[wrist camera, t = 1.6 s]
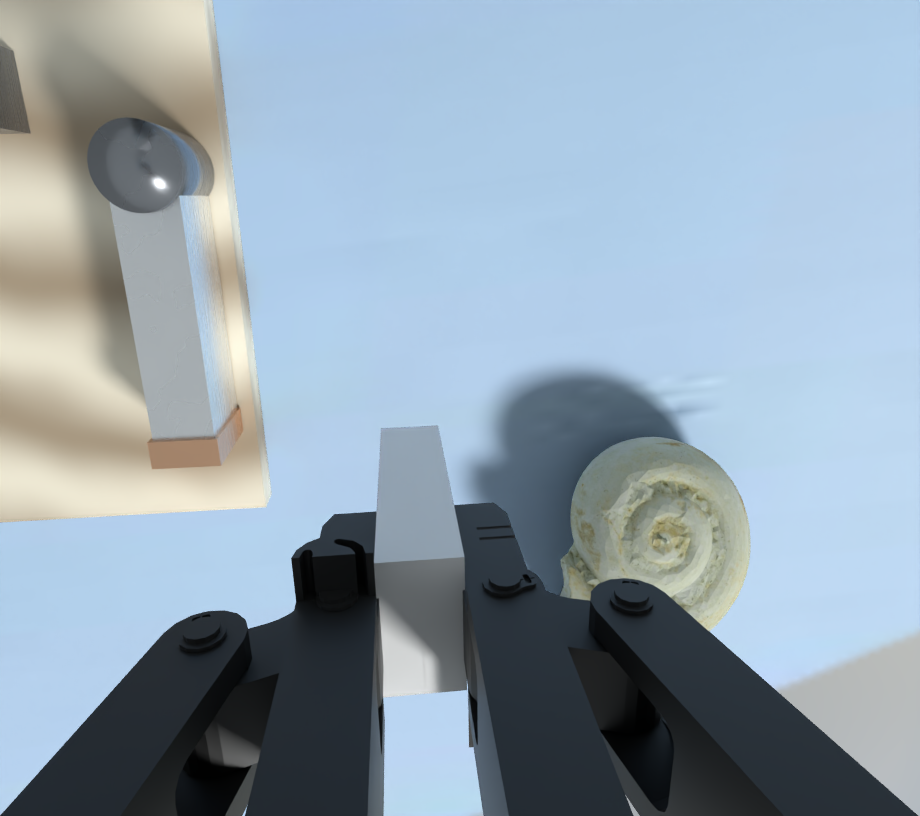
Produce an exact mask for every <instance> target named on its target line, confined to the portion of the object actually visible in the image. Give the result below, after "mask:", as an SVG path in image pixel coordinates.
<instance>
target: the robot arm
mask: <svg viewBox="0 0 920 816" xmlns="http://www.w3.org/2000/svg"><path fill="white" fill-rule="evenodd" d="M291 560H292V568H293V577H294V586H295V594H296V605H295V609H294V611H293V612H292V613H290V614H289V615H287V616H285V617H283V618H281V619H279V620H276V621H273V622H270V623H268V624H264V625H261V626H257V627H253V628H250V629H248V627H247V623H246V620H245V619H244V618H242V617H241V616H240V615H239V614H237V613H233V612H228V611H208V612H203V613H199V614H196V615H193V616H190V617H188V618H186V619H184V620H182V621H180V622H178V623H176V624H175V625H173V626H172V627H171V628H170V629H168V630H167V631H166V632H165V633H164V634H163V635H162V636H161V637H160V638H159V639H158V640H157V641H156V643H155V644H154V645H153V646H152V647H151V648H150V649H149V650H148V651H147V653H146V654H145V655H144V656H143V657H142V658H141V659H140V660H139V661H138V663H137V664H136V665H135V666H134V667H133V668H132V669H131V670H130V672H129V673H128V674H127V675H126V676H125V677H124V678H123V679H122V680H121V682H120V683H119V684H118V685H117V686H116V687H115V688H114V689H113V691H112V692H111V693H110V694H109V695H108V696H107V697H106V698H105V699H104V701H103V702H102V703H101V704H100V705H99V706H98V707H97V708H96V709H95V711H94V712H93V713H92V714H91V715H90V716H89V717H88V718H87V720H86V721H85V722H84V723H83V724H82V725H81V726H80V727H79V728H78V730H77V731H76V732H75V733H74V734H73V735H72V736H71V737H70V738H69V740H68V741H67V742H66V743H65V744H64V745H63V746H62V747H61V749H60V750H59V751H58V752H57V753H56V754H55V755H54V756H53V757H52V759H51V760H50V761H49V762H48V763H47V764H46V765H45V766H44V767H43V769H42V770H41V771H40V772H39V773H38V774H37V775H36V776H35V778H34V779H33V780H32V781H31V782H30V783H29V784H28V785H27V786H26V788H25V789H24V790H23V791H22V792H21V793H20V794H19V795H18V796H17V798H16V799H15V800H14V801H13V802H12V803H11V804H10V805H9V807H8V808H7V809H6V810H5V811H4V812H3V813H2V814H1V815H0V816H242V815H243V813H244V811H245V809H246V807H247V810H246V814H245V816H383V806H384V729H385V719H384V704H383V697H393V696H405V695H416V694H427V693H438V692H450V691H461V690H467V683H468V706H469V747H474V753H475V760H476V767H477V774H478V780H479V787H480V794H481V801H482V808H483V815H484V816H633V814H632V811H631V809H630V806H629V803H628V801H627V798H626V796H627V797H628V799H629V800H630V802H631V803H632V805H633V806H634V808H635V809H636V811H637V812H638V814H639V815H640V816H918V815H917V814H916V813H914V812H913V811H912V810H911V809H910V808H909V807H908V806H906V805H905V804H904V803H903V802H902V801H901V800H899V798H897V797H896V796H895V795H894V794H893V793H892V792H890V791H889V790H888V789H887V788H886V787H885V786H884V785H883V784H881V783H880V782H879V781H878V780H877V779H876V778H874V777H873V776H872V775H871V774H870V773H869V772H868V771H867V770H866V769H865V768H863V767H862V766H861V765H860V764H859V763H858V762H856V761H855V760H854V759H853V758H852V757H851V756H850V755H849V754H848V753H846V752H845V751H844V750H843V749H842V748H841V747H840V746H838V745H837V744H836V743H835V742H834V741H833V740H831V739H830V738H829V737H828V736H827V735H826V734H825V733H824V732H822V731H821V730H820V729H819V728H818V727H817V726H816V725H815V724H813V723H812V722H811V721H810V720H809V719H808V718H806V717H805V716H804V715H803V714H802V713H801V712H800V711H799V710H798V709H796V708H795V707H794V706H793V705H792V704H791V703H790V702H789V701H787V700H786V699H785V698H784V697H783V696H782V695H781V694H779V693H778V692H777V691H776V690H775V689H774V688H773V687H771V686H770V685H769V684H768V683H767V682H766V681H765V680H764V679H762V678H761V677H760V676H759V675H758V674H757V673H756V672H754V671H753V670H752V669H751V668H750V667H749V666H748V665H747V664H745V663H744V662H743V661H742V660H741V659H740V658H739V657H737V656H736V655H735V654H734V653H733V652H732V651H731V650H730V649H728V648H727V647H726V646H725V645H724V644H723V643H722V642H720V641H719V640H718V639H717V638H716V637H715V636H714V635H713V634H711V633H710V632H709V631H708V630H707V629H706V628H705V627H703V626H702V625H701V624H700V623H699V622H698V621H697V620H695V619H694V618H693V617H692V616H691V615H690V614H689V613H688V612H686V611H685V610H684V609H683V608H682V607H681V606H680V605H678V604H677V603H676V602H675V601H674V600H673V599H672V598H671V597H669V596H668V595H667V594H666V593H665V592H663V591H662V590H660V589H659V588H657V587H655V586H654V585H652V584H649V583H646V582H643V581H640V580H636V579H629V578H620V579H610V580H607V581H604V582H602V583H599V584H597V586H596V587H595V588H594V589H593V590H592V591H591V598H590V601H589V600H581V599H573V598H567V597H562V596H558V595H555V594H553V593H550V592H547V591H546V590H545V588H544V585H543V583H542V581H541V580H540V579H539V577H538V576H537V575H536V574H534V573H532V572H531V571H529V570H527V567H526V565H525V562H524V559H523V557H522V554H521V551H520V548H519V546H518V543H517V540H516V538H515V535H514V532H513V529H512V528H511V524H510V521H509V518H508V516H507V513H506V512H505V511H503V510H502V509H501V508H500V507H498V506H497V505H496V504H494V503H481V504H465V505H454V503H453V498H452V493H451V488H450V483H449V478H448V473H447V468H446V463H445V458H444V453H443V448H442V443H441V438H440V433H439V429H438V426H421V427H401V428H381V440H380V459H379V478H378V496H377V512H364V513H348V514H334V515H333V516H332V517H331V518H330V519H329V520H328V521H327V522H326V523H325V524H324V525H323V526H322V531H321V535H320V538H319V539H316V540H313V541H311V542H308V543H306V544H305V545H303V546H302V547H300V548H299V549H297V550H296V552H295V553H294V555H293V557H292V558H291ZM625 795H626V796H625ZM247 805H248V806H247Z"/></svg>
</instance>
